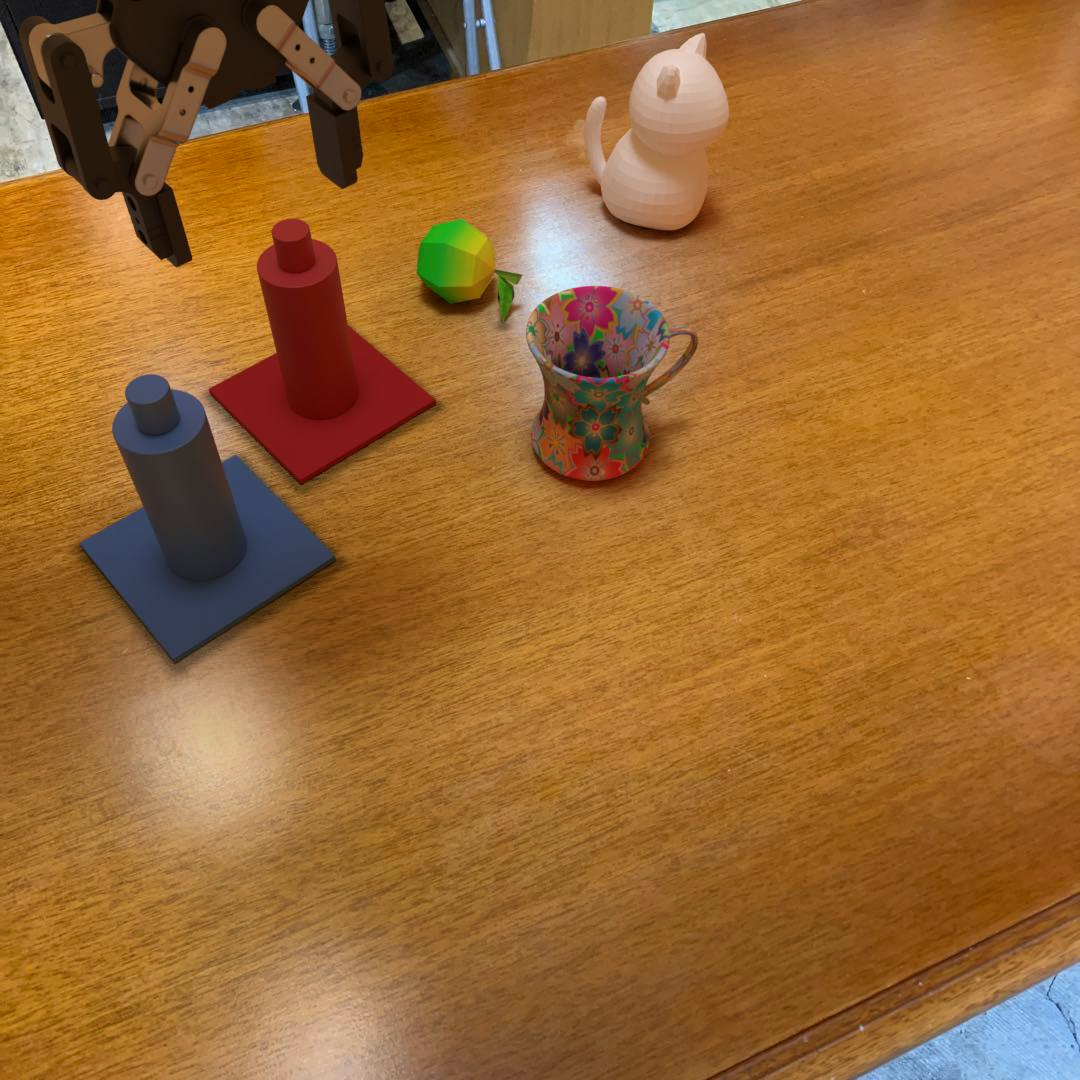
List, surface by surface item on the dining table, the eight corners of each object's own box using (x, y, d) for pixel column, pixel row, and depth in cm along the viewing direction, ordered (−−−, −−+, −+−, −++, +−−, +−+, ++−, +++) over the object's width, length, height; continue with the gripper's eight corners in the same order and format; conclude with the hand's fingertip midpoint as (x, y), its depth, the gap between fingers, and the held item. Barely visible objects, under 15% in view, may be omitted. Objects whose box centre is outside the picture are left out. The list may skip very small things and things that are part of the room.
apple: (411, 205, 83) (521, 230, 81) (440, 216, 89) (542, 239, 87) (393, 297, 85) (500, 324, 83) (422, 302, 91) (522, 327, 89)
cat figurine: (689, 257, 92) (714, 89, 80) (557, 215, 95) (563, 48, 83) (728, 202, 97) (757, 36, 85) (601, 163, 100) (612, -1, 88)
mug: (549, 506, 74) (553, 394, 66) (508, 414, 80) (507, 300, 71) (709, 466, 77) (732, 353, 69) (659, 379, 82) (674, 265, 74)
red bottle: (354, 420, 79) (326, 255, 67) (282, 419, 78) (242, 254, 67) (362, 370, 82) (336, 205, 70) (293, 370, 82) (256, 204, 70)
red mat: (301, 484, 75) (299, 480, 75) (209, 393, 81) (207, 388, 80) (436, 404, 80) (435, 399, 80) (341, 323, 86) (340, 318, 85)
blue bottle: (192, 594, 69) (127, 436, 57) (151, 546, 71) (80, 385, 60) (262, 551, 71) (212, 391, 60) (219, 506, 73) (164, 343, 62)
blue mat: (175, 663, 66) (172, 659, 66) (81, 547, 72) (78, 542, 71) (336, 560, 71) (335, 555, 71) (237, 458, 77) (235, 454, 76)
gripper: (283, -282, 40) (341, 123, 53) (-101, -191, 34) (69, 242, 47) (409, -227, 36) (438, 192, 49) (6, -115, 30) (158, 329, 43)
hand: (258, 216), depth 48 cm, fingers open, 8 cm apart
